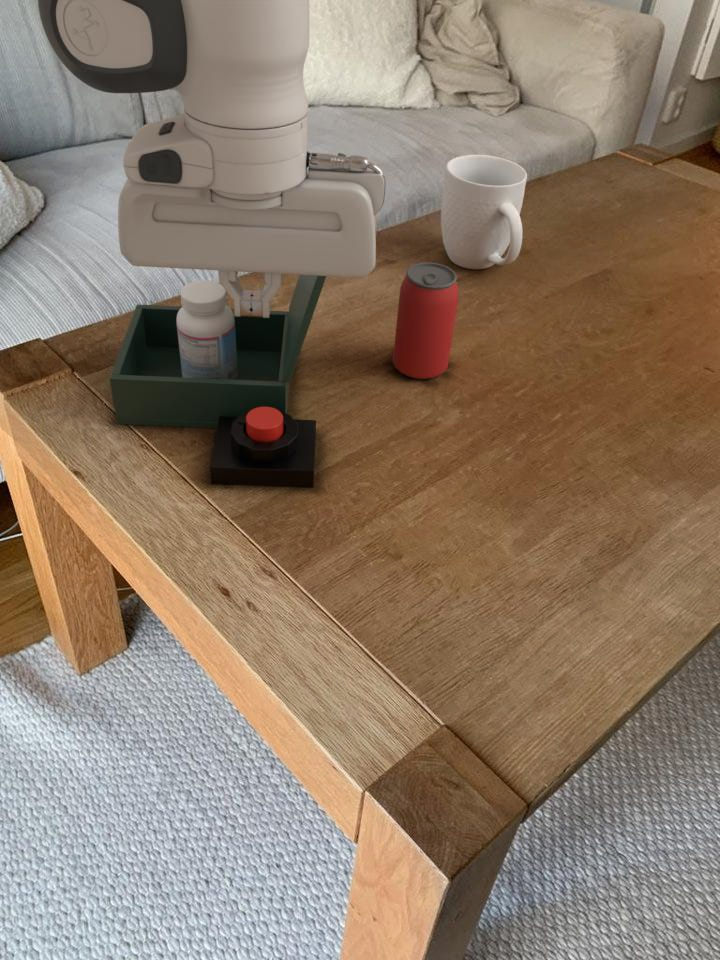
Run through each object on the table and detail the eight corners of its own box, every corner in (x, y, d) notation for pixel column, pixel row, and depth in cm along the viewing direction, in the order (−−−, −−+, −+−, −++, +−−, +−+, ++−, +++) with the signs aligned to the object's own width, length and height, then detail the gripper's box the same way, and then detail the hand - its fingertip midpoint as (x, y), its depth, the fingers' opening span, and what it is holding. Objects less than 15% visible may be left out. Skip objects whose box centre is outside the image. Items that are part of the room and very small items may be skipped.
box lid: (337, 215, 71) (387, 231, 72) (338, 152, 82) (381, 166, 83) (281, 381, 82) (325, 393, 83) (289, 307, 93) (327, 318, 94)
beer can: (386, 375, 95) (396, 283, 87) (398, 346, 100) (408, 255, 92) (442, 386, 94) (456, 293, 86) (451, 356, 99) (465, 265, 91)
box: (117, 424, 86) (109, 378, 82) (142, 347, 96) (136, 304, 93) (285, 430, 87) (285, 386, 83) (292, 354, 97) (292, 311, 94)
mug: (541, 282, 114) (562, 191, 106) (475, 296, 110) (491, 203, 102) (482, 237, 124) (497, 150, 115) (419, 248, 120) (430, 159, 111)
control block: (211, 484, 80) (208, 452, 77) (220, 432, 86) (218, 401, 83) (313, 487, 80) (314, 456, 78) (315, 436, 86) (316, 405, 84)
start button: (244, 442, 79) (244, 428, 78) (248, 419, 82) (247, 405, 81) (282, 443, 79) (282, 429, 78) (284, 420, 82) (284, 407, 81)
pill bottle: (217, 359, 94) (211, 270, 87) (248, 384, 91) (245, 294, 83) (172, 377, 91) (161, 286, 84) (202, 404, 88) (194, 312, 80)
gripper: (386, 142, 63) (373, 301, 72) (119, 126, 62) (140, 289, 72) (389, 174, 59) (374, 340, 68) (100, 157, 58) (125, 327, 67)
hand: (252, 313), depth 70 cm, fingers closed
